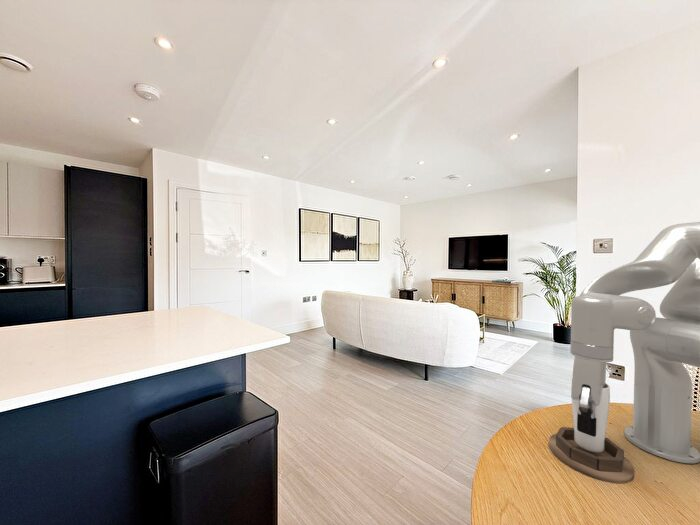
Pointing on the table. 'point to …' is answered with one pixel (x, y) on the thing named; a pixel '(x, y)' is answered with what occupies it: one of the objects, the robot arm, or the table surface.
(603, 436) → the drinking glass
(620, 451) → the glass holder
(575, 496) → the table surface
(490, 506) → the table surface
